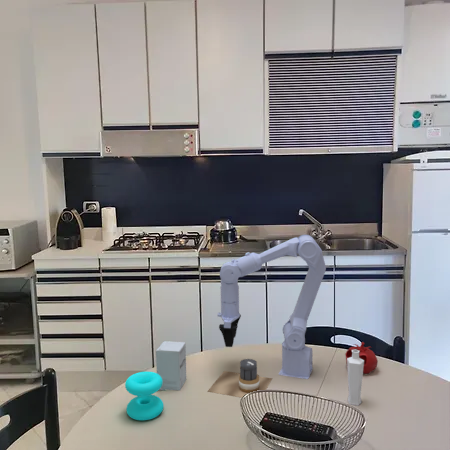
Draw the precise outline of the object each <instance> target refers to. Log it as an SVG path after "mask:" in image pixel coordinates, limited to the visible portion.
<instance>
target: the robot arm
mask: <svg viewBox="0 0 450 450" xmlns="http://www.w3.org/2000/svg"><path fill="white" fill-rule="evenodd" d="M297 254H298V255H299V257H300V258H301V259H302V260H303V261H305V263H306V265H307V267H308V270H307V273H306V276H305V278H304V280H303V284H302V287H301V288H300V289H301V290H300V293H299V295H298V298H297V300H296V303H295V306H294V308H293V309H294V310H293V311H292V314H291V315H290V316H289V318H288V320H287V322H285V323H284V325H283V327H282V333H283V338H284V340H283V342H282V343H281V369H280V371H279V372H278V375H279V376H285V377H291V378H296V379H297V378H299V379H305V380H309V378H310V376H311V373H312V371H313V355H314V354H313V347H310V346H307V345H306V344H305V343H306V338H305V335H306V332H307V326H308V324H307V323H308V320H309V317H310V314H311V311H312V308H313V306H314V303H315V300H316V298H317V295H318V292H319V290H320V286H321V284H322V282H323V279H324V276H325V274H326V269H327V265H326V263H325V259H324V255H323V250H322V248H321V247H320V245H319V244H318V243H317V241H316V240H315V238H314V237H312V236H311V235H309V234H301V235H299V236H298V237H297V236H296V237H293V238H290V239H289V240H288V239H287V240H286V241H284V242H282V243H279V244H278V245H275V246H273V247H271V248H269V249H266V250H265V251H262V252H260V253H256V252H251V253H250V251H248V252H246V253H245V255H244V256H242V257H238V258H237V259H235V258H233V259H231V260H230V261H227V262H224V263H223V264H222V266H221V267H220V270H219V277H220V285H221V286H220V312H217V318H218V317H219V318H221V319H222V322H223V324H222V323H221V324H219V326H218V330H219V331H220V332H221V335H222V337H223V341H224V345H225V348H233V346H234V342H235V341H234V340H235V338H236V335H237V330H238V324H239V321H240V319H241V317H242V315H241V314H240V293H239V292H240V291H239V289H240V287H239V282H238V280H239V278H243V277H246V276H247V275H250V274H252V273H254V272H257V271H259V270H261V268H262V266H263V265H264V264H266V263H269V262H271V261H274V260H276V259H279V258H282V257H283V258H284V257H285V256H290V257H294V258H297V257H298V256H297Z"/></svg>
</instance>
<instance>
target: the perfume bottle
mask: <svg viewBox="0 0 450 450" xmlns="http://www.w3.org/2000/svg"><path fill="white" fill-rule="evenodd" d="M359 352H360V351H359V350H356V349H355V350H352V357H350V358H347V364H346V368H347V385H348V397H347V399H348V400H347V402H348V404H349V405H353V406H360V405H361V403H362V397H361V394H362V393H361V391H362V387H363V385H362V384H363V367H364V360H362V359H361V358H359Z"/></svg>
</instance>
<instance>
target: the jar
mask: <svg viewBox="0 0 450 450" xmlns="http://www.w3.org/2000/svg"><path fill="white" fill-rule="evenodd" d="M259 376H260V375H259V374H258V373H257V378H256V379H255V380H251V381H246V380H243V379H241V378H240V375H239V389H240V390H241V391H242V392H245V393H250V392H253V391H257V390H259Z"/></svg>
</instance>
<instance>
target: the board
mask: <svg viewBox="0 0 450 450" xmlns="http://www.w3.org/2000/svg"><path fill="white" fill-rule="evenodd" d="M239 375H240V372H235V371H228V370H227V371H226V370H224V371H223V372H222V373H221V374H220V375H219V377H218V378H217V379H216V380H215V381H214V383H212V385H211V386H210V388H208V390H207V393H213V394H219V395H225V396H230V397H236V398H242V397H243V396H244V395H245V394H247V393H245V392H242V391H241V390H240V389H239ZM272 380H273V377H266V376H260V375H259V390H266V391H267V389H268V387H269V386H270V383H271V382H272ZM242 399H243V398H242Z"/></svg>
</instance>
